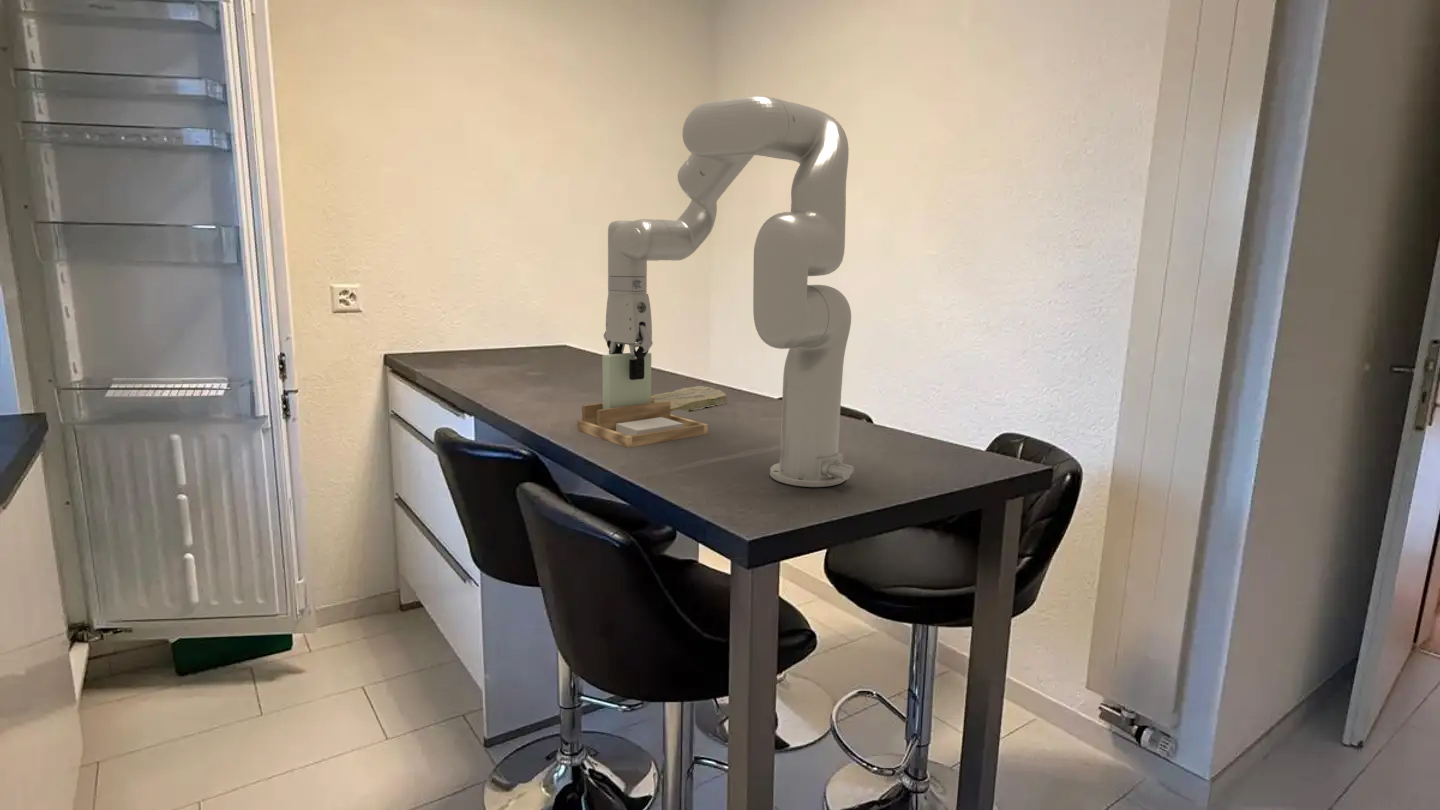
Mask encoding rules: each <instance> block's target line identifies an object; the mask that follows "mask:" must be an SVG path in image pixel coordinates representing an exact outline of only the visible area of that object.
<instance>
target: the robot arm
mask: <svg viewBox="0 0 1440 810" xmlns="http://www.w3.org/2000/svg"><path fill="white" fill-rule="evenodd" d="M682 140H683V145H684V146H685V148H686V149H687V151H689V152H690V154H689V156H688V157H687V158H686V160H685V161H684V162H683V164H682V165H681V166H680V168H679V169H678V171H677V181H678V184H679V187H680V188H681V190H682V191H683V192H684V194H685V195H686V196H687V197H688V198H689V199H691V200H690V203H689V204H688V206H687V207H686V209H685V210H684V211H683V213H682V214H681V215H680V216H679V217H678V218H677V219H676V220H672V219H671V220H670V219H653V218H652V219H649V218H644V219H641V218H640V219H636V220H615V221H611V222H610V223H608V227H607V290H608V291H607V301H606V309H605V310H606V311H605V332H604V333H603V338H604V340H605V343H606V346H607V347H608V349H609V350H608V355H610V354H623V353H624V352H625V351H624V350H625V346H626V345H628V348H629V353H631V358H632V359H630V360H629V378H630V380H637V379H643V378H644V359H646V354H647V353H649V350H650V349H651V347H652V346H653V340H652V339H653V328H652V327H653V325H652V324H653V323H652V310H651V309H652V308H651V302H650V297H649V293H647V292H648V291H647V290H648V289H647V287H648V285H647V284H648V283H647V280H648V276H647V275H648V273H647V272H648V261H650V262H652V261H656V262H658V261H673V262H674V261H682V260H685V259H687V258H688V257H690V256H691V255H693V254H694V253H695V252H696V251H697V250H698V248H699V247H700V246H701V245H702V244H703V243H704V241H706V239H707V238H708V237H709V236H710V234H711V232H712V230H713V228H714V226H715V221H716V217H717V213H718V212H717V209H718V207H717V203H718V200H719V199H720V198H721V196H722V195H723V194H724V193H725V192H726V190H727V189H728V188H729V186H730V185H731V184H732V183H733V182H734V181H735V179H736V178H737V177H738V176H739V175H740V174H741V172H742V171H743V170H744V169H745V167H746V166H747V165H748V164H749V162H750V161H751V160H752V159H753V158H754V156H759V157H765V158H773V159H779V160H787V161H792V162H796V163H798V164H799V166H798V167H797V169H796V172H795V173H794V176H793V179H792V184H791V189H790V198H791V200H790V201H791V204H790V211H786V212H785V211H784V212H779V213H776V214H774V215H772V216H770V217H768V219H767V220H765V222H763V224H762V225H761V227H760V229H759V231H758V232H757V236H756V238H755V242H754V247H753V279H752V280H753V282H752V283H753V288H752V290H753V293H752V294H753V295H752V298H753V300H752V301H753V302H752V304H753V306H752V307H753V308H752V309H753V322H754V326H755V330H756V332H757V335H758V336H759V337H760V340H761V341H762V342H764V343H765V344H766V345H768V346H769V347H771V348H775V349H780V350H781V349H782V350H785V349H787V350H788V352H787V354H786V358H785V361H784V368H783V374H782V375H783V377H782V379H783V380H782V398H781V403H782V404H781V419H780V421H781V425H780V426H781V427H780V449H779V462H777V463H774V464H773V465H772V466H770V468H769V476H770V478H771V479H773V480H775V481H777V482H779V483H781V484H786V485H790V486H796V487H805V488H806V487H808V488H824V487H833V486H838V485H841V484H842V483H844V482H845V481H848V480H849V479H850V477H851V475H852V474H853V473H854V472H855V471H854V470H855V468H854V466H853V465H851V464H847V463H844V462H843V459H844V454H843V453H840V452H839V444H840V443H839V440H840V439H839V438H840V422H841V403H842V389H843V388H842V387H843V386H842V385H843V374H844V373H843V372H844V362H845V361H844V360H845V353H846V347H847V344H848V339H849V335H850V331H851V326H852V325H851V324H852V310H851V306H850V304H849V301H848V299H847V297H846V296H845V295H844V294H843V293H842V292H841V291H840V290H838V289H837V288H834V286H829V285H826V284H808V277H819V276H826V275H830V274H831V273H834V272H835V271H837V270H838V268H840V266H841V264H842V263H843V259H844V255H845V247H846V219H847V218H846V216H847V213H846V211H847V209H846V208H847V199H846V198H847V197H846V196H847V177H848V175H847V174H848V166H849V154H850V153H849V150H850V149H849V142H848V137H847V134H846V132H845V130H844V128H843V127H842V124H840V122H839V121H837V120H836V118H834V117H833V116H831V115H830V114H828V113H826V112H824V111H822V110H820V109H816V108H814V107H810V106H808V105H804V104H799V103H796V102H791V101H786V100H783V99H780V98H779V99H778V98H775V97H772V96H771V97H770V96H767V95H750V96H744V97H736V98H727V99H720V100H711V101H705V102H702V103H701V104H699V105H697V106H695V107H694V108H693V109H692V110H691V111H690V112H689V114H688V115H687V117H686V118H685V121H684V124H683V127H682ZM636 348H637V349H636Z"/></svg>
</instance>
